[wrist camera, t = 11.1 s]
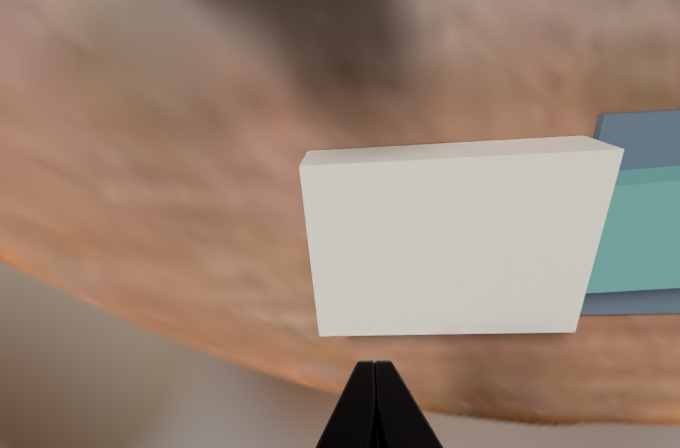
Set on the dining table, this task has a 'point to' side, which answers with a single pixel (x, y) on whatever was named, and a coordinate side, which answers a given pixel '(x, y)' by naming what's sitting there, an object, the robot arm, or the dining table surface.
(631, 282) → the teal rectangular block
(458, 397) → the dining table surface
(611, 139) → the mat
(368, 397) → the robot arm
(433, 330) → the block
